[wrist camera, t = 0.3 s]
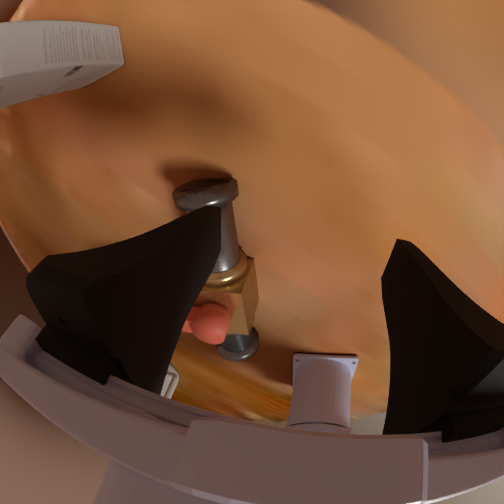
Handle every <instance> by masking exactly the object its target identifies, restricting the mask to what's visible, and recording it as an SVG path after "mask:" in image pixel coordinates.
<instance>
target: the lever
mask: <svg viewBox="0 0 504 504" xmlns="http://www.w3.org/2000/svg"><path fill="white" fill-rule="evenodd" d="M230 323H231V315H230V314H229V312H228V311H227V310H226V309H224V308H223V307H221V306H219V305H215V304H205V305H203V306H201V308H200V307H192V308H191V310H190V312H189V314H188V316H187V319H186V321H185V324H184V326H183V328H182V331H183V332H189V333H193V334H194V335H195V336H196V337H197V338H198V339H199V340H201V341H203V342H205V343H208V344H220V343H222V342H223V341H224V339H225V337H226V334H227V331H228V328H229V326H230Z"/></svg>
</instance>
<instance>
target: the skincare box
mask: <svg viewBox="0 0 504 504" xmlns="http://www.w3.org/2000/svg"><path fill="white" fill-rule="evenodd" d="M123 65H124V58H123V50H122V44H121V38H120V33H119V28H118V26H113V25H105V24H97V23H88V22H77V21H58V20H34V21H15V22H5V23H0V109H2V108H5V107H8V106H11V105H14V104H18V103H21V102H24V101H28V100H31V99H35V98H39V97H42V96H47V95H51V94H55V93H60V92H65V91H71V90H76V89H80V88H82V87H85V86H87V85H89V84H91V83H93V82H94V81H96V80H98V79H100V78H102V77H104V76H106V75H108V74H109V73H111V72H113V71H115V70H117V69H119V68H120V67H122V66H123Z"/></svg>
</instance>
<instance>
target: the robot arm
mask: <svg viewBox="0 0 504 504" xmlns="http://www.w3.org/2000/svg"><path fill="white" fill-rule="evenodd" d="M220 251H221V207H216V206H209V205H206V206H203V207H201V208H198V209H196V210H194V211H192V212H190V213H188V214H186V215H184V216H182V217H180V218H177V219H175V220H173V221H171V222H169V223H167V224H165V225H162V226H160V227H158V228H156V229H154V230H151V231H149V232H146V233H144V234H141V235H139V236H136V237H133V238H130V239H127V240H124V241H120V242H117V243H113V244H110V245H107V246H103V247H99V248H94V249H89V250H84V251H79V252H73V253H65V254H57V255H48V256H47V257H45V258H44V259H43V260H42V261H41V262H40V263H39V264H38V265H37V266H36V267H35V268H34V269H33V270H32V271H31V272H30V273H29V274H28V275H27V277H26V285H27V289H28V292H29V294H30V297H31V299H32V300H33V302H34V304H35V306H36V308H37V309H38V311H39V313H40V314H41V316H42V318H43V319H44V321H45V323H46V326H45V327H44V328H43V330H42V329H41V328H40V327H39V326H38V325H37V324H35V323H34V322H32V321H31V320H29V319H28V318H26V317H25V316H23V315H19V316H18V317H17V318H16V319H15V321H14V322H13V323H12V325H11V326H10V327H9V328H8V330H7V331H6V332H5V333H4V335H3V336H2V337H1V339H0V377H1V378H3V380H4V381H5V382H6V383H7V384H8V385H9V386H10V387H11V388H13V389H14V390H15V391H16V392H17V393H18V394H19V395H20V396H21V397H22V398H23V399H24V400H26V401H27V402H28V403H29V404H30V405H31V406H33V407H34V408H35V409H36V410H37V411H39V412H40V413H41V414H42V415H43V416H45V417H46V418H47V419H49V420H50V421H51V422H53V423H54V424H55V425H57V426H58V427H59V428H61V429H62V430H64V431H65V432H67V433H68V434H69V435H71V436H72V437H74V438H75V439H77V440H78V441H80V442H81V443H83V444H85V445H86V446H88V447H90V448H91V449H93V450H94V451H96V452H98V453H100V454H101V455H103V456H105V457H107V458H109V459H110V460H111V462H110V464H109V466H108V468H107V471H106V473H105V475H104V477H103V480H102V482H101V484H100V486H99V489H98V491H97V493H96V496H95V498H94V500H93V503H92V504H430V503H434V502H437V501H441V500H445V499H448V498H451V497H454V496H458V495H460V494H464V493H466V492H469V491H472V490H475V489H477V488H480V487H482V486H485V485H487V484H489V483H492V482H494V481H496V480H498V479H501V478H503V477H504V324H503V323H501V322H500V321H498V320H497V319H496V318H494V317H493V316H491V315H490V314H489V313H487V312H486V311H485V310H484V309H482V308H481V307H480V306H478V305H477V304H476V303H475V302H474V301H473V300H471V299H470V298H469V297H468V296H467V295H466V294H465V293H463V292H462V291H461V290H460V289H459V288H458V287H457V286H456V285H455V284H454V283H453V282H452V281H451V280H450V279H449V278H448V277H447V276H446V275H445V274H444V273H443V272H442V271H441V270H440V269H439V268H438V267H437V266H436V265H435V264H434V263H433V262H432V261H431V260H430V259H429V258H428V257H427V256H426V255H425V254H424V253H423V252H422V251H421V250H420V249H419V248H418V247H416V246H415V245H414V244H413V243H411V242H410V241H406V240H401V239H397V240H396V242H395V245H394V248H393V250H392V253H391V255H390V258H389V261H388V263H387V265H386V268H385V270H384V273H383V275H382V277H381V283H382V299H383V305H384V311H385V317H386V323H387V329H388V335H389V342H390V387H389V398H388V406H387V413H386V419H385V424H384V429H383V434H382V435H357V434H351V428H350V427H349V418H350V396H351V380H352V378H353V375H354V372H355V370H356V367H357V364H358V361H359V357H357V356H336V355H314V354H299V353H296V354H294V355H293V386H292V389H293V393H292V399H291V405H290V411H289V416H288V422H287V426H284V427H278V426H272V425H267V424H261V423H256V422H251V421H246V420H242V419H237V418H233V417H229V416H225V415H221V414H217V413H214V412H210V411H207V410H203V409H200V408H196V407H193V406H190V405H187V404H184V403H181V402H178V401H175V400H172V399H169V398H166V397H163V396H161V391H162V388H163V384H164V381H165V377H166V374H167V371H168V368H169V364H170V361H171V358H172V355H173V352H174V350H175V347H176V344H177V341H178V339H179V336H180V333H181V331H182V328H183V326H184V324H185V321H186V319H187V316H188V314H189V312H190V310H191V308H192V306H193V304H194V303H195V301H196V299H197V297H198V296H199V294H200V292H201V290H202V289H203V287H204V285H205V283H206V281H207V280H208V278H209V276H210V274H211V273H212V271H213V269H214V267H215V264H216V262H217V259H218V257H219V254H220Z"/></svg>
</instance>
